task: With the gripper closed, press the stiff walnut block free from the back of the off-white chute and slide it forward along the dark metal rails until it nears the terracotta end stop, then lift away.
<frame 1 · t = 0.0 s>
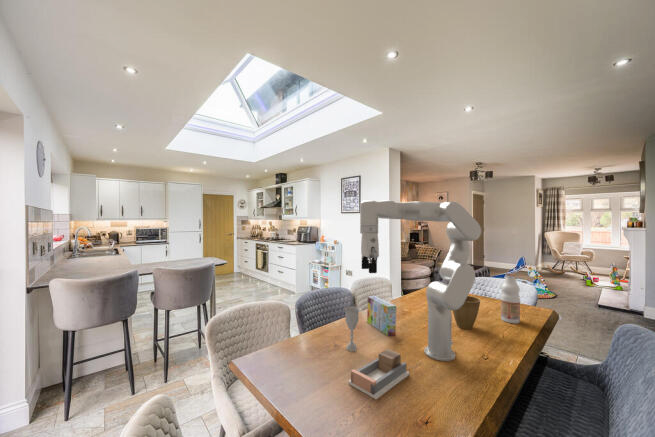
hand: (368, 270, 115), 37 cm above the table, tool pointing down, fingers open, 9 cm apart
walnut block: (389, 361, 106), point 4 cm above the table, slide at 0.0 cm
white plastic bottle: (510, 321, 163), on the table
chute: (379, 379, 101), on the table
chalice: (351, 348, 125), on the table
snack box: (380, 328, 150), on the table
plant pot: (464, 327, 153), on the table
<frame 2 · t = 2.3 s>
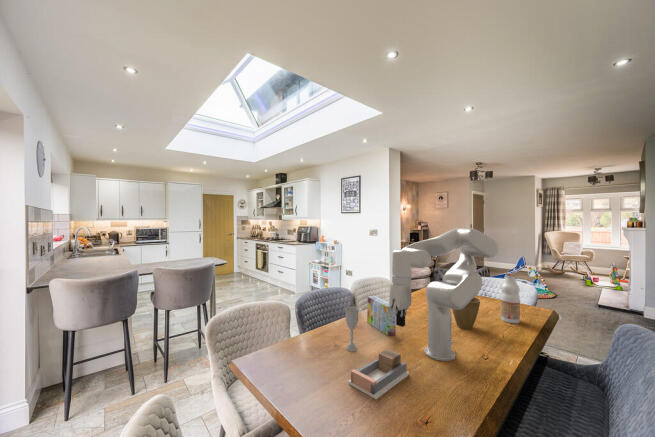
hand: (400, 325, 112), 16 cm above the table, tool pointing down, fingers closed
nothing on the table moved.
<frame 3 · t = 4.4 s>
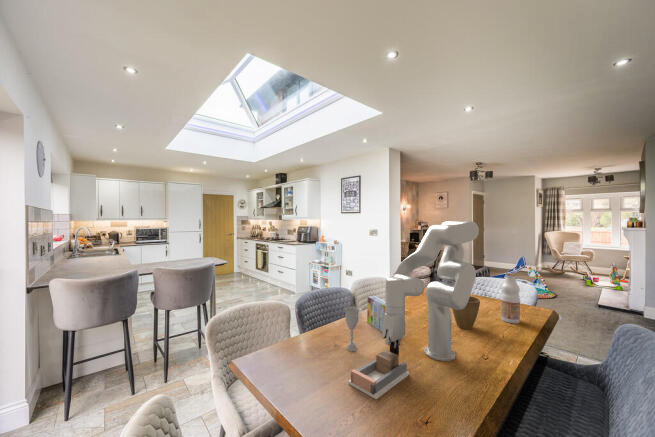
hand: (394, 356, 108), 5 cm above the table, tool pointing down, fingers closed
walnut block: (387, 363, 105), point 4 cm above the table, slide at 1.5 cm, touching gripper
everything else where it was.
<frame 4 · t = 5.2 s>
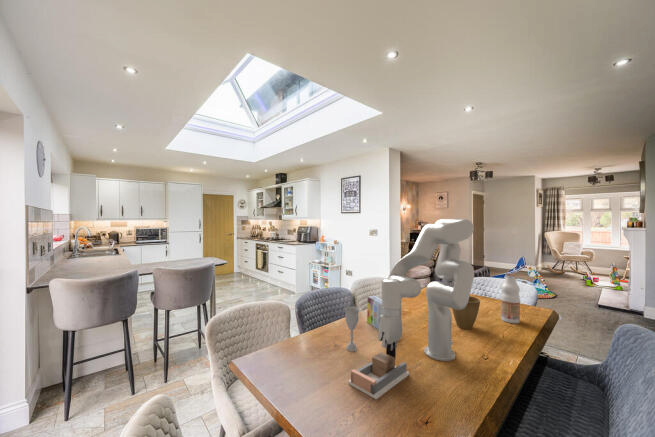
hand: (390, 358, 106), 5 cm above the table, tool pointing down, fingers closed
walnut block: (383, 365, 103), point 4 cm above the table, slide at 4.0 cm, touching gripper
everything else where it was.
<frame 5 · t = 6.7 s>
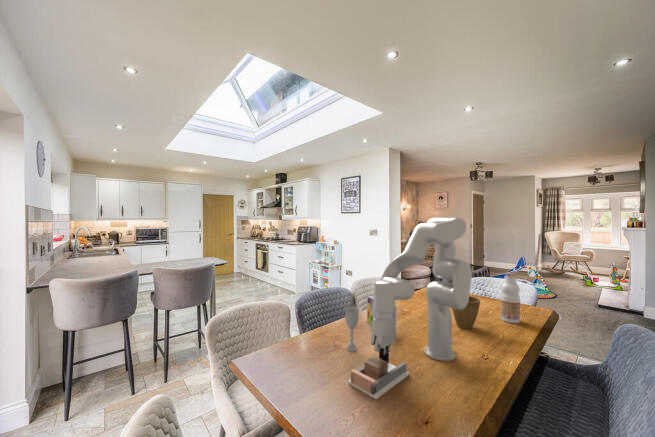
hand: (383, 363, 103), 5 cm above the table, tool pointing down, fingers closed
walnut block: (376, 370, 100), point 4 cm above the table, slide at 8.8 cm, touching gripper
everything else where it was.
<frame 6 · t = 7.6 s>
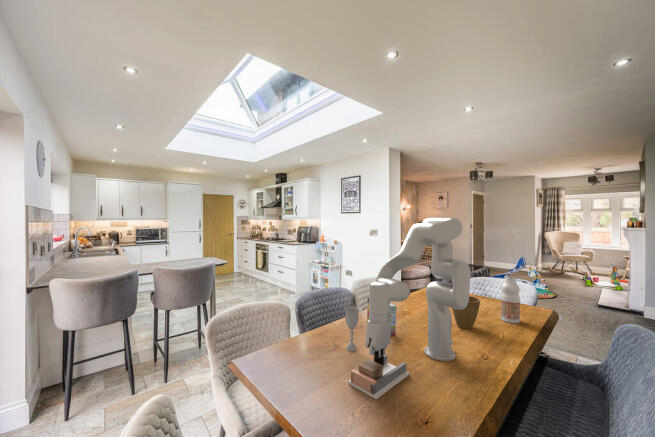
hand: (378, 366, 101), 5 cm above the table, tool pointing down, fingers closed
walnut block: (370, 373, 97), point 4 cm above the table, slide at 12.0 cm, touching gripper
everything else where it was.
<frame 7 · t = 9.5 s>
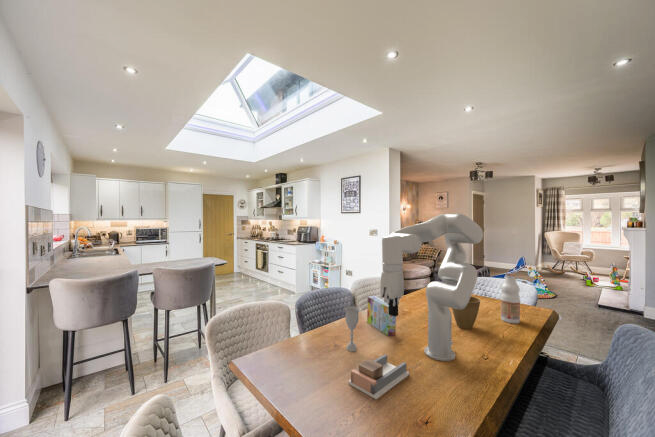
hand: (393, 315, 105), 22 cm above the table, tool pointing down, fingers closed
walnut block: (370, 373, 97), point 4 cm above the table, slide at 12.0 cm
everything else where it was.
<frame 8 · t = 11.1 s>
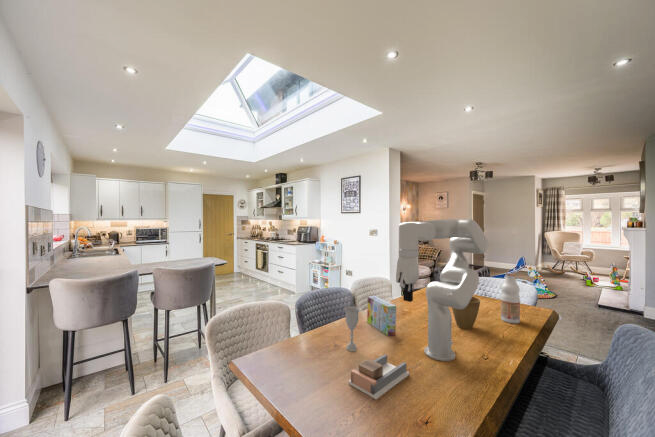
hand: (408, 300, 108), 27 cm above the table, tool pointing down, fingers closed
nothing on the table moved.
at the end: walnut block slide at 12.0 cm; chalice moved 0.2 cm from its start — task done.
